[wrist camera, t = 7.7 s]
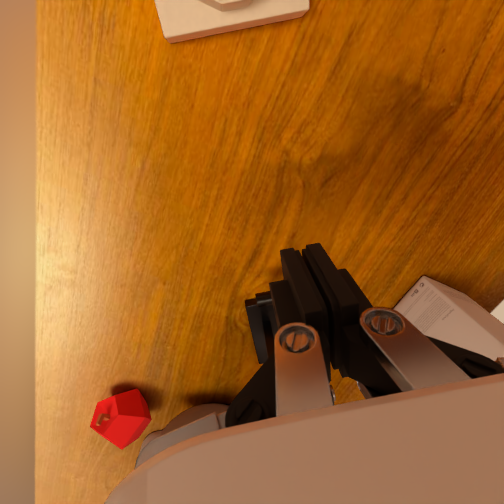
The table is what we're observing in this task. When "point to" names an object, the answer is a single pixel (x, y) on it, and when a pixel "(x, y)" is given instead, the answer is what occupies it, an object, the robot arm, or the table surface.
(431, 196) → the table surface
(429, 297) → the cosmetic box
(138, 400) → the apple
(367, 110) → the table surface
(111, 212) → the table surface
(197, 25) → the block
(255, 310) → the bracket
